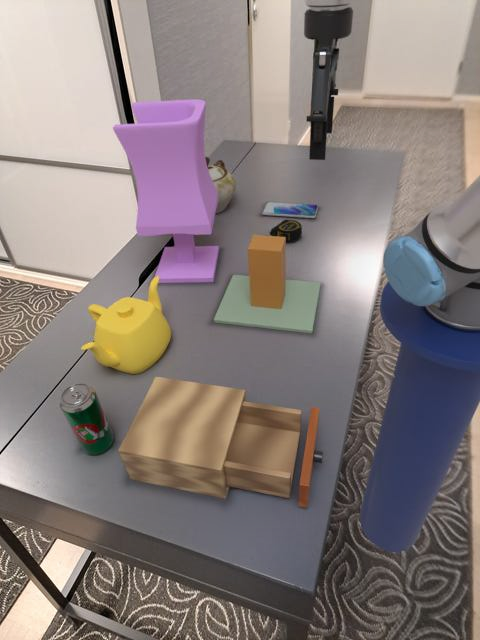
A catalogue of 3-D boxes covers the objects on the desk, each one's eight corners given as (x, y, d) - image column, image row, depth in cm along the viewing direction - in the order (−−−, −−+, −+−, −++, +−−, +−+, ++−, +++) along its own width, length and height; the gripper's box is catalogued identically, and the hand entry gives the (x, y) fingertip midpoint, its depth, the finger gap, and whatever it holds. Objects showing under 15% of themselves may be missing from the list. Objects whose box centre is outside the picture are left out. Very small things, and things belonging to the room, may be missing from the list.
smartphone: (266, 201, 128) (318, 204, 124) (266, 204, 128) (318, 207, 125) (260, 212, 122) (315, 216, 119) (261, 215, 123) (315, 219, 119)
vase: (162, 249, 113) (132, 102, 90) (223, 247, 112) (208, 98, 89) (149, 285, 101) (111, 127, 79) (217, 284, 100) (198, 123, 77)
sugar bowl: (220, 227, 120) (214, 173, 110) (172, 219, 125) (163, 167, 115) (248, 196, 133) (245, 146, 123) (204, 190, 138) (198, 141, 128)
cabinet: (248, 420, 72) (245, 389, 67) (226, 499, 62) (221, 470, 57) (164, 406, 75) (155, 376, 70) (130, 479, 65) (117, 450, 60)
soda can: (97, 425, 73) (75, 376, 65) (121, 436, 71) (101, 387, 63) (75, 449, 69) (49, 401, 62) (100, 461, 67) (76, 413, 60)
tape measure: (285, 228, 117) (285, 215, 115) (306, 236, 114) (307, 223, 111) (269, 239, 113) (269, 226, 111) (291, 247, 110) (291, 234, 107)
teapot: (132, 305, 96) (120, 264, 89) (193, 323, 90) (186, 280, 83) (61, 375, 82) (40, 332, 75) (128, 401, 76) (112, 357, 69)
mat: (320, 285, 97) (320, 282, 97) (312, 333, 86) (312, 330, 85) (233, 277, 102) (233, 274, 101) (213, 322, 90) (213, 319, 90)
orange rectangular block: (285, 294, 95) (285, 236, 85) (281, 309, 91) (281, 251, 82) (256, 291, 96) (253, 234, 87) (251, 306, 92) (247, 248, 83)
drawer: (325, 432, 68) (327, 409, 64) (316, 510, 59) (318, 488, 55) (232, 417, 71) (230, 394, 67) (210, 488, 62) (206, 466, 58)
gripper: (314, -2, 79) (309, 123, 93) (292, 20, 61) (291, 171, 75) (357, -4, 77) (345, 123, 91) (348, 18, 59) (336, 172, 73)
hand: (321, 145), depth 83 cm, fingers open, 13 cm apart
